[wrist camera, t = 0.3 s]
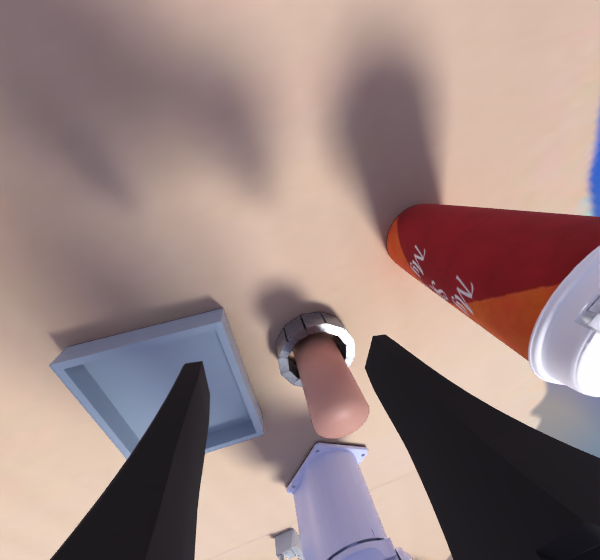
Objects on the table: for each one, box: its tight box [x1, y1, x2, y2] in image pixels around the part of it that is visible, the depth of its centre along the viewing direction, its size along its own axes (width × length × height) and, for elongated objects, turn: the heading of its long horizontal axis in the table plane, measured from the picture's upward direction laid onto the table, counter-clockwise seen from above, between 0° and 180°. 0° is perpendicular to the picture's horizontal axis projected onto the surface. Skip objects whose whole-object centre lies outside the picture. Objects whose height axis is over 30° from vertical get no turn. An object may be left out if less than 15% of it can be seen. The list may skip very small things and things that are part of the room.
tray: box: [49, 308, 264, 459], centre depth 22 cm, size 14×12×2 cm
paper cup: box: [387, 204, 600, 397], centre depth 15 cm, size 8×8×14 cm
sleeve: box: [276, 312, 355, 387], centre depth 23 cm, size 7×7×2 cm
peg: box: [292, 332, 369, 438], centre depth 20 cm, size 4×4×8 cm
